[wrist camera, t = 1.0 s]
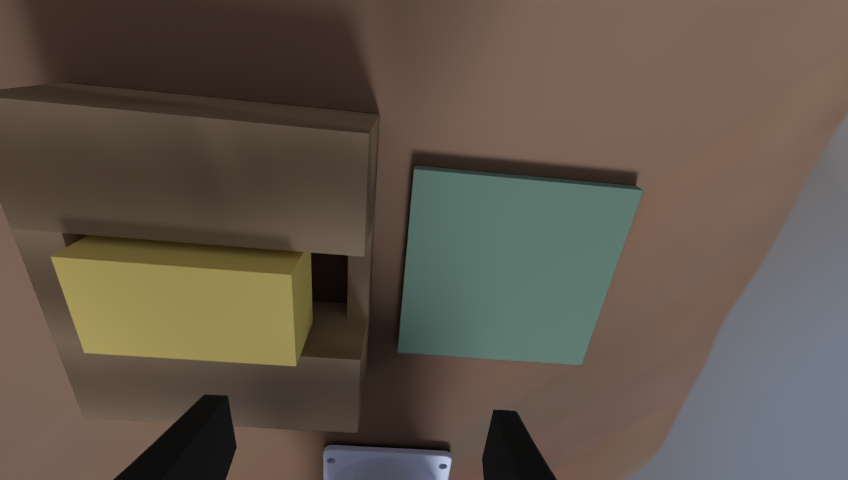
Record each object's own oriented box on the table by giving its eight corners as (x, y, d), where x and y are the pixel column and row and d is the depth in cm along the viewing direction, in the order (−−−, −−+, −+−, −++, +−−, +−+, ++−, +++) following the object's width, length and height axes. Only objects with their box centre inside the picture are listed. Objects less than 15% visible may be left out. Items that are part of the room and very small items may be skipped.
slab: (312, 321, 18) (296, 366, 16) (131, 309, 18) (84, 353, 15) (310, 239, 16) (291, 274, 14) (108, 223, 16) (50, 256, 14)
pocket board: (367, 370, 23) (357, 432, 19) (138, 356, 22) (83, 417, 18) (379, 114, 16) (369, 133, 13) (63, 82, 16) (-41, 93, 12)
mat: (577, 357, 22) (581, 364, 22) (398, 345, 22) (397, 352, 21) (636, 185, 18) (643, 190, 17) (414, 165, 17) (414, 169, 17)
